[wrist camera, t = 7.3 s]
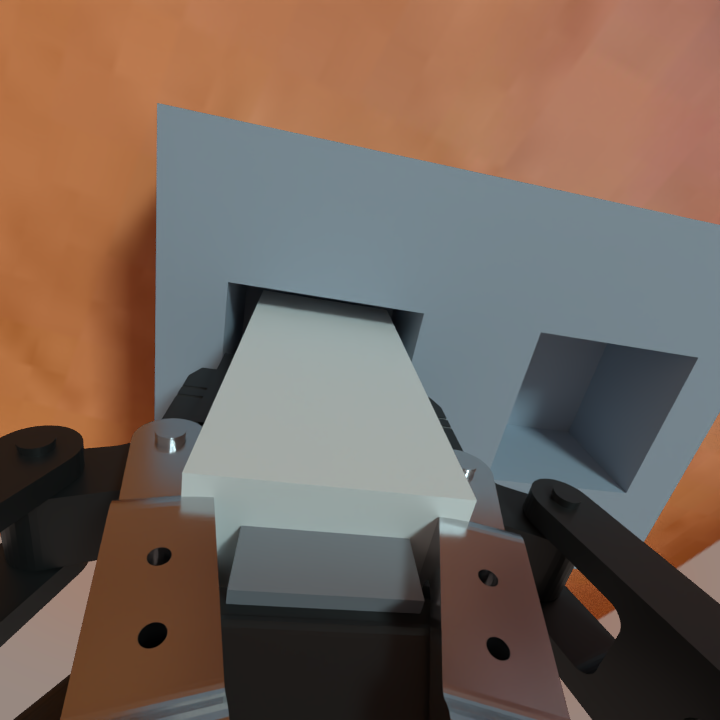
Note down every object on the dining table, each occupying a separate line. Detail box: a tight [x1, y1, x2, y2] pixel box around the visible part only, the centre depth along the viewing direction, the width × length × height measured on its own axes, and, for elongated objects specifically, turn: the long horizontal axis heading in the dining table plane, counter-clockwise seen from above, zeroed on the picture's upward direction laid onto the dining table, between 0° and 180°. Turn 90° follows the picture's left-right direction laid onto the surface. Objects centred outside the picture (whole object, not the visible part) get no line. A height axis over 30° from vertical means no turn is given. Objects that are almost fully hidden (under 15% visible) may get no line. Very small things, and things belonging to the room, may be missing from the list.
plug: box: [181, 290, 477, 614], centre depth 10 cm, size 4×4×10 cm
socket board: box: [155, 103, 720, 569], centre depth 16 cm, size 18×13×5 cm
